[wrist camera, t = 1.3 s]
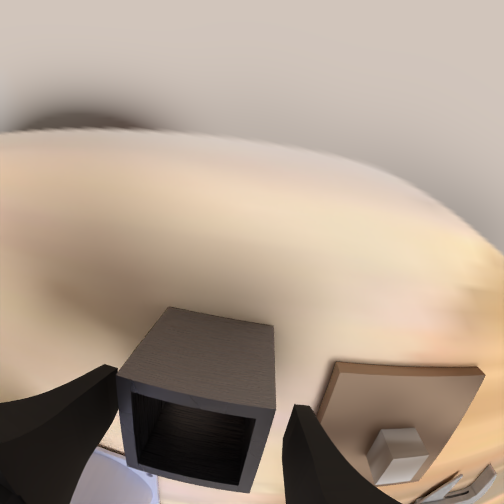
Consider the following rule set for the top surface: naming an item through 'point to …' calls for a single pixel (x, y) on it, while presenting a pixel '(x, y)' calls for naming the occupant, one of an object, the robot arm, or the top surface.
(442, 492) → the adjustable wrench
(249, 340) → the hollow square tube
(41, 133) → the top surface
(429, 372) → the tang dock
